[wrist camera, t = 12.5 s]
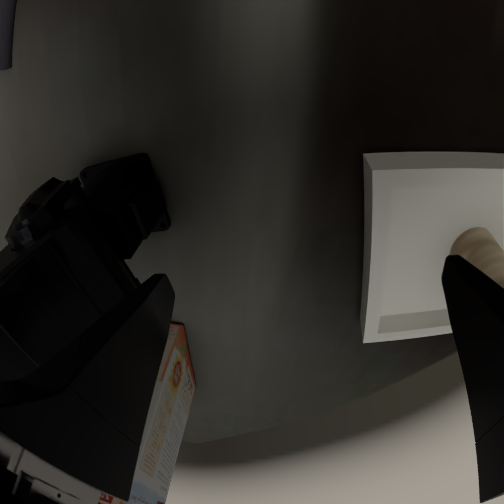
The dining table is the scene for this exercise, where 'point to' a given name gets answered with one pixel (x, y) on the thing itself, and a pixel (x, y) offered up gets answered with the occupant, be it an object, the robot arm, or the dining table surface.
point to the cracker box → (163, 424)
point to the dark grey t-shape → (6, 32)
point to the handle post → (481, 252)
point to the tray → (421, 234)
